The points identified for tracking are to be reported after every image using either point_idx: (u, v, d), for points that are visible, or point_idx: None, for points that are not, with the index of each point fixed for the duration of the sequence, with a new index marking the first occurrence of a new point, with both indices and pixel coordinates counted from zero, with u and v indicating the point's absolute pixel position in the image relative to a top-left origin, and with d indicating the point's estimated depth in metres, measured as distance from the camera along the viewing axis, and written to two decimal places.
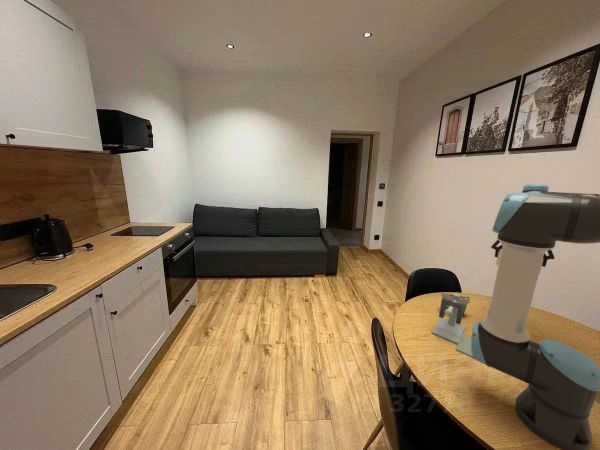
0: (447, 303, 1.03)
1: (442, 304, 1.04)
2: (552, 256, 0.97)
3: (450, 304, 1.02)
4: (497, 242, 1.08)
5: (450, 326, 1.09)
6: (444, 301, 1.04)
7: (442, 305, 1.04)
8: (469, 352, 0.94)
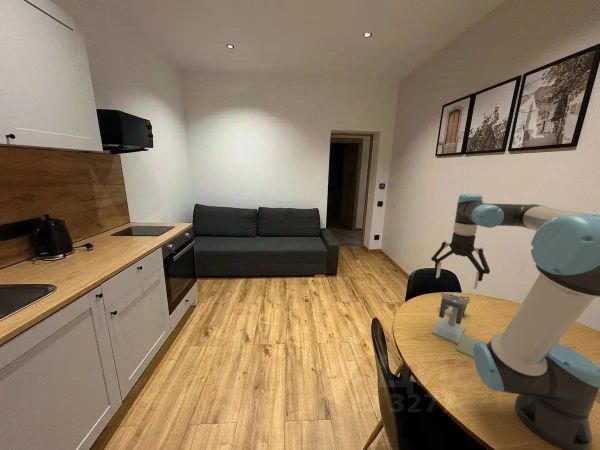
0: (447, 303, 1.03)
1: (442, 304, 1.04)
2: (487, 270, 0.91)
3: (450, 304, 1.02)
4: (436, 254, 1.02)
5: (450, 326, 1.09)
6: (444, 301, 1.04)
7: (442, 305, 1.04)
8: (469, 352, 0.94)
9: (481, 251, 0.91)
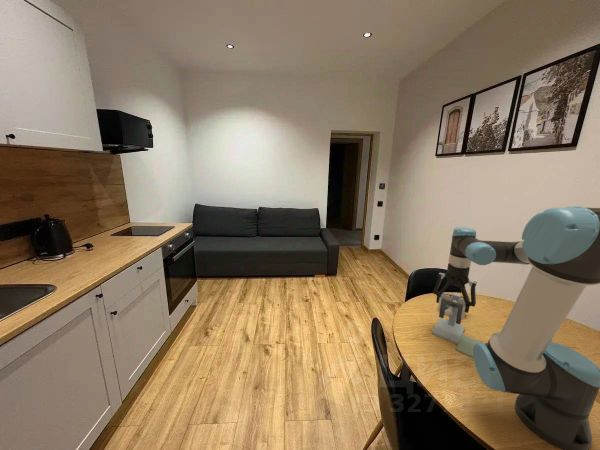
0: (447, 303, 1.03)
1: (442, 304, 1.04)
2: (473, 303, 0.96)
3: (450, 304, 1.02)
4: (436, 287, 1.05)
5: (450, 326, 1.09)
6: (444, 301, 1.04)
7: (442, 305, 1.04)
8: (469, 352, 0.94)
9: (474, 286, 0.95)
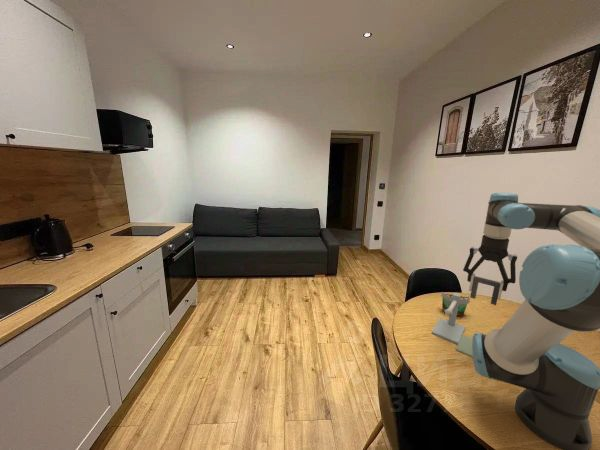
0: (481, 281, 0.91)
1: (474, 283, 0.92)
2: (513, 280, 0.84)
3: (484, 282, 0.90)
4: (467, 263, 0.92)
5: (450, 326, 1.09)
6: (477, 279, 0.91)
7: (474, 284, 0.92)
8: (469, 352, 0.94)
9: (515, 259, 0.82)
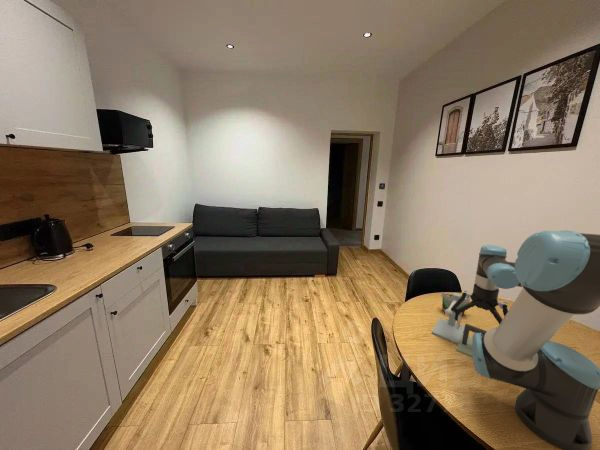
0: (471, 329, 0.96)
1: (466, 330, 0.97)
2: None
3: (475, 331, 0.95)
4: (456, 305, 0.97)
5: (450, 326, 1.09)
6: (468, 327, 0.96)
7: (465, 331, 0.97)
8: (469, 352, 0.94)
9: (506, 307, 0.86)
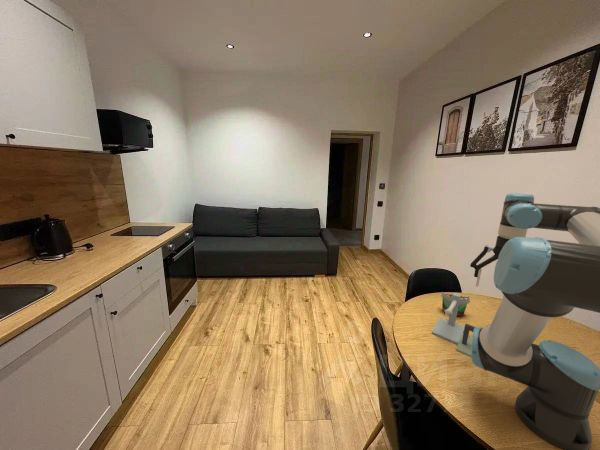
0: (471, 329, 0.96)
1: (466, 330, 0.97)
2: None
3: None
4: (477, 260, 0.93)
5: (450, 326, 1.09)
6: (468, 327, 0.96)
7: (465, 331, 0.97)
8: (469, 352, 0.94)
9: None
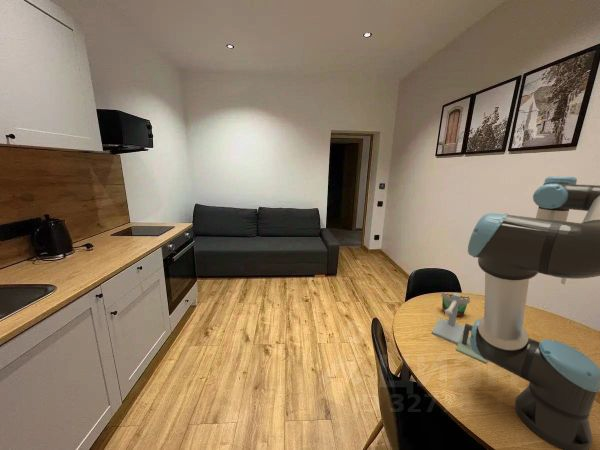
0: (471, 329, 0.96)
1: (466, 330, 0.97)
2: None
3: None
4: None
5: (450, 326, 1.09)
6: (468, 327, 0.96)
7: (465, 331, 0.97)
8: (469, 352, 0.94)
9: None
